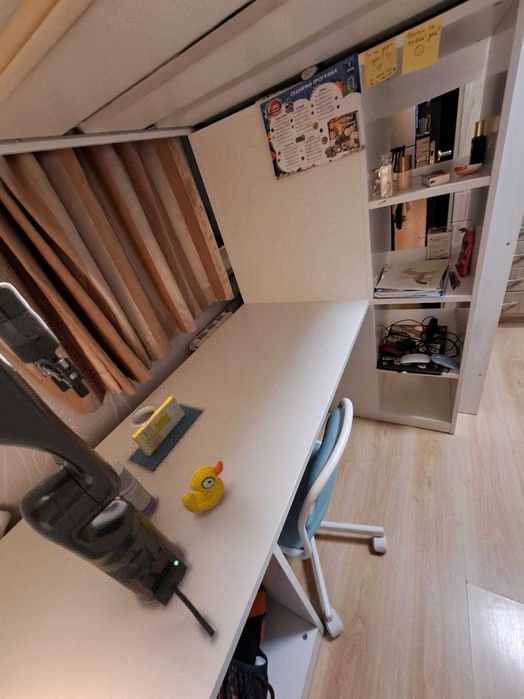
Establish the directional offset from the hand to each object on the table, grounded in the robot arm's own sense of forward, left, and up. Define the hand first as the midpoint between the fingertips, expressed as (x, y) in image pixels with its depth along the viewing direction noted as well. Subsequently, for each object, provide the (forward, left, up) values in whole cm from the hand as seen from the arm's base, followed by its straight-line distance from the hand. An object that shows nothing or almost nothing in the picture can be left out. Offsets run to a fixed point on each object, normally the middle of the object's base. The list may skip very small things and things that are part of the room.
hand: (76, 392), depth 67 cm
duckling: (-29, 0, -28) cm, 41 cm away
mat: (-2, -11, -28) cm, 30 cm away
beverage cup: (+10, +8, -28) cm, 31 cm away
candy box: (-2, -11, -28) cm, 30 cm away
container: (-14, +8, -28) cm, 33 cm away
